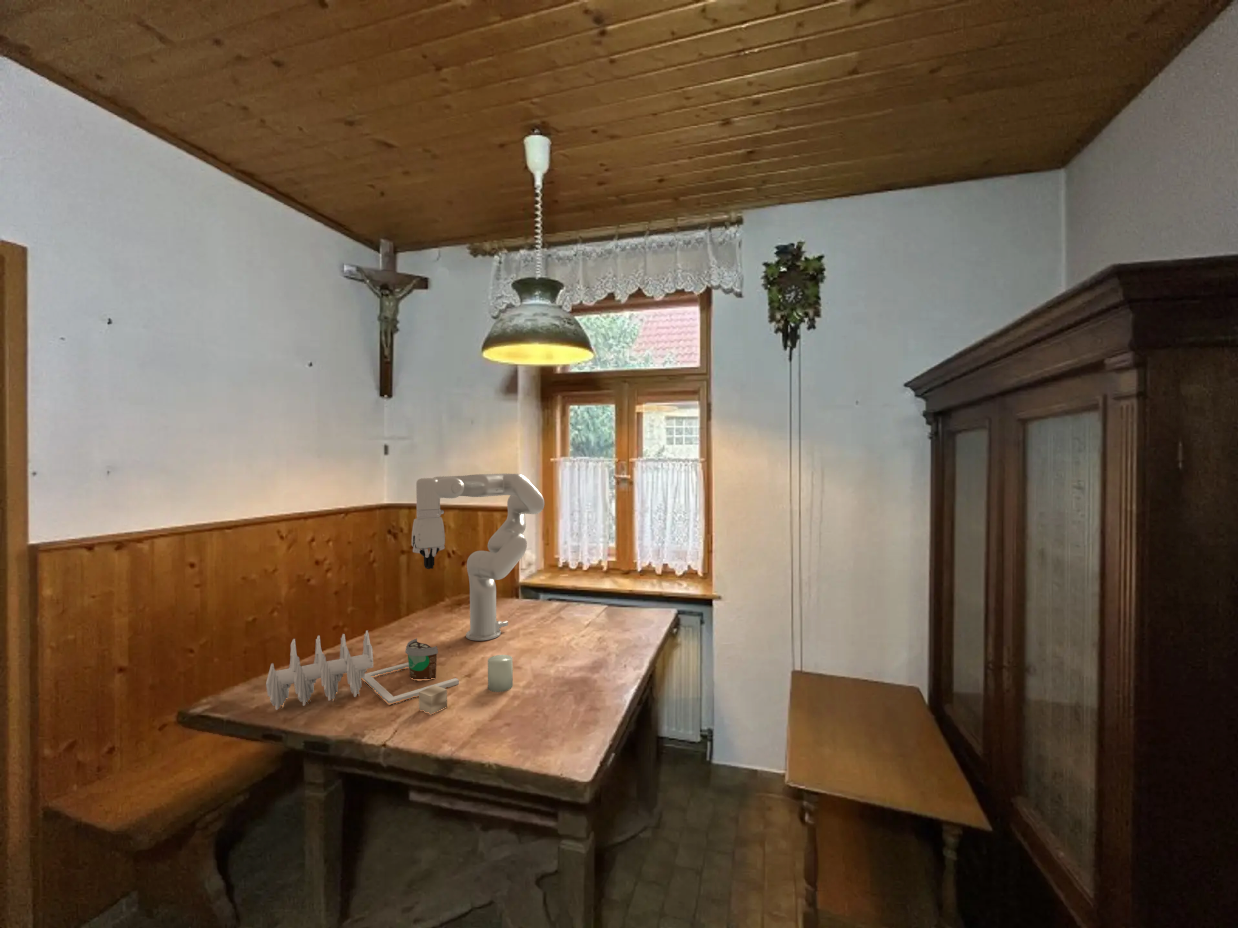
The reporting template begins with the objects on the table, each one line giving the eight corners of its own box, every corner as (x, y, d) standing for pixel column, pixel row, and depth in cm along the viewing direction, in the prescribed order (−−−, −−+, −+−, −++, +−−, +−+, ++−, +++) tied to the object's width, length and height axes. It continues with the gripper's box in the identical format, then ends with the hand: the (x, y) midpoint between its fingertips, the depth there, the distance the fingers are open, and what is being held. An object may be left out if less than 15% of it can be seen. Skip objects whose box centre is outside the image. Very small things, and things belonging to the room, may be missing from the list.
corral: (425, 661, 174) (425, 657, 174) (458, 683, 156) (458, 679, 156) (360, 678, 160) (360, 674, 160) (388, 705, 142) (388, 701, 142)
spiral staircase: (276, 716, 145) (376, 694, 155) (261, 714, 131) (372, 691, 141) (277, 647, 152) (372, 631, 162) (263, 638, 137) (369, 621, 147)
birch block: (434, 703, 144) (434, 684, 144) (447, 707, 141) (446, 689, 141) (419, 710, 140) (418, 691, 140) (431, 715, 137) (431, 696, 137)
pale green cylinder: (504, 679, 159) (504, 652, 159) (517, 686, 154) (517, 659, 154) (483, 686, 154) (483, 659, 154) (495, 694, 149) (495, 665, 149)
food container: (397, 675, 162) (397, 643, 162) (416, 669, 167) (415, 637, 167) (419, 686, 154) (419, 652, 154) (438, 679, 159) (438, 646, 159)
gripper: (444, 512, 188) (445, 563, 188) (402, 515, 178) (402, 569, 178) (454, 513, 183) (454, 566, 183) (410, 517, 172) (411, 573, 173)
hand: (429, 568), depth 180 cm, fingers closed
